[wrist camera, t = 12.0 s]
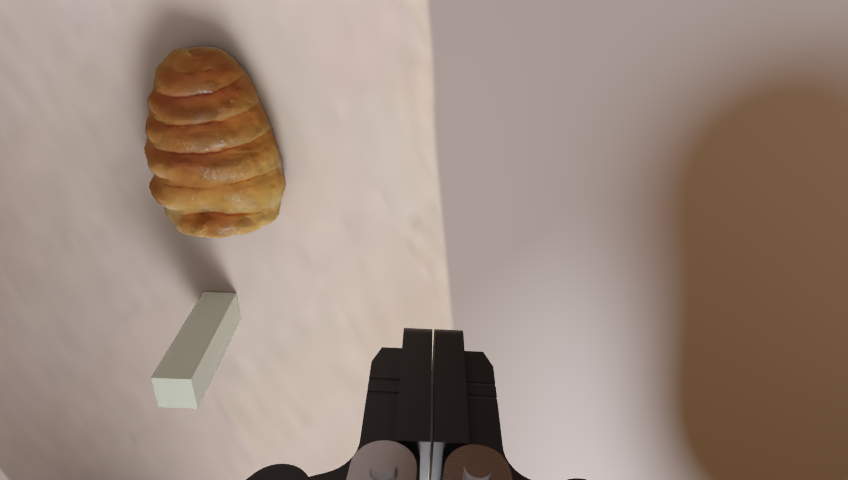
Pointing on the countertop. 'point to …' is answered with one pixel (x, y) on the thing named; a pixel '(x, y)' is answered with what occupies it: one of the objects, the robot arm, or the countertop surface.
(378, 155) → the countertop surface
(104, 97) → the countertop surface
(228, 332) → the grey rectangular block
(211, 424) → the countertop surface
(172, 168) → the pastry
